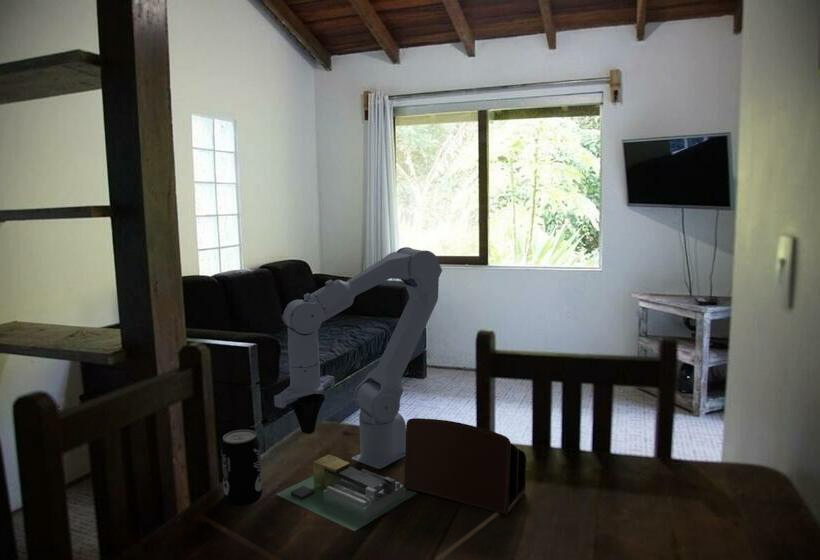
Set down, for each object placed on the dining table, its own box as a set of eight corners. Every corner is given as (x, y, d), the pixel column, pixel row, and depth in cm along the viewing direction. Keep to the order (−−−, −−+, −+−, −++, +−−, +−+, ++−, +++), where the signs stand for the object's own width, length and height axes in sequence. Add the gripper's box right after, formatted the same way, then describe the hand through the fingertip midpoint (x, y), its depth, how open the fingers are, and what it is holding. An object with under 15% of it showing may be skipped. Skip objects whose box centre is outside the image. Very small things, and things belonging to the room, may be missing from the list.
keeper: (330, 479, 118) (329, 454, 117) (351, 488, 114) (350, 462, 113) (314, 487, 115) (312, 461, 114) (335, 496, 111) (334, 470, 110)
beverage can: (252, 510, 108) (248, 444, 106) (217, 506, 109) (213, 441, 108) (268, 492, 114) (264, 429, 113) (235, 489, 116) (231, 427, 114)
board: (339, 466, 124) (339, 460, 124) (417, 496, 112) (417, 489, 112) (275, 497, 112) (275, 491, 112) (354, 534, 100) (354, 527, 99)
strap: (339, 467, 115) (339, 462, 114) (388, 487, 107) (388, 482, 107) (327, 473, 112) (327, 467, 112) (376, 494, 105) (376, 488, 104)
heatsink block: (363, 482, 116) (362, 460, 115) (404, 498, 110) (404, 475, 109) (323, 503, 109) (322, 479, 108) (365, 522, 102) (364, 497, 102)
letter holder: (507, 516, 104) (509, 434, 102) (403, 489, 113) (403, 414, 111) (526, 492, 112) (528, 416, 111) (427, 470, 122) (429, 399, 120)
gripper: (292, 376, 110) (296, 450, 112) (345, 357, 121) (348, 423, 123) (264, 371, 113) (268, 442, 115) (318, 352, 125) (321, 417, 127)
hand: (308, 432), depth 120 cm, fingers closed
